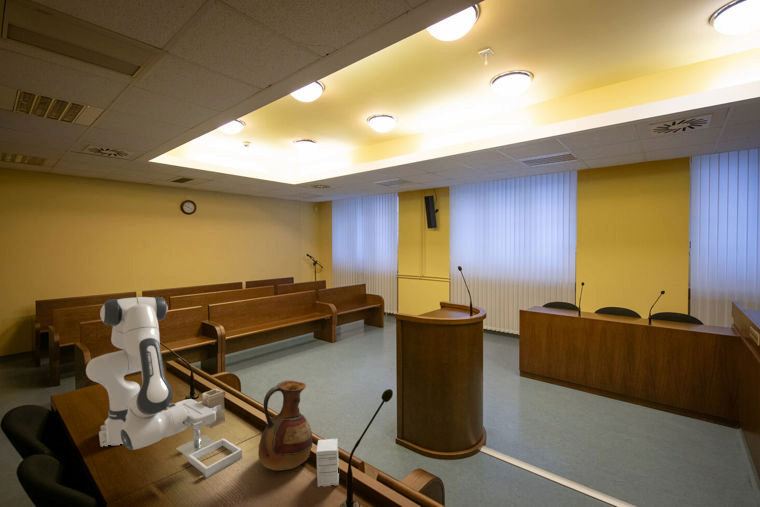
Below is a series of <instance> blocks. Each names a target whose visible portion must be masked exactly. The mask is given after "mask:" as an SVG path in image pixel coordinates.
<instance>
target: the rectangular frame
mask: <svg viewBox="0 0 760 507" xmlns="http://www.w3.org/2000/svg"><path fill="white" fill-rule="evenodd" d="M222 447H224V448H226V449H227V450H229V451H230V452H232V453H231V454H228V455H227V456H225V457H223V458H221V459H219V460H218V461H216V462H214V463H212V464H211V465H209V466H207V465H206V464H204V463H203V462H201V461H200V460H199V458H201V457H202V458H203V457H204V456H205V455H207V454H209V453H212V452H213V451H215V450H217V449H219V448H222ZM240 458H242V459H243V449H242V448H240V447H239V446H237V445H236V444H234V443H232V442H230V441H228V440H227V439H226V438H224V437H223V438H220V439H219V440H217V441H216V442H215V443H213V444H211V445H209V446H207V447H204V448H202V449H200V450H198V451H196V452H194V453H192V454H190V455H188V457H187V459H188V463H190V464H191V465H192V466H193V467H195V468H196V469H197V470H199V471H200V472H201V473H202V474H201V475H202V476H203V477H204V478H205V479H208V478H210V477H212V476H214V475H215V474H217V473H219V472H221V471H222V470H224V469H226V468H228V467H229V466H231V465H233V464H235V463H236V462H235V461H237V460H238V461H240V460H241V459H240ZM239 459H240V460H239ZM238 461H237V462H238ZM234 462H235V463H234ZM232 463H233V464H232ZM227 466H228V467H227ZM225 467H226V468H225Z"/></svg>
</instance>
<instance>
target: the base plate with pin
mask: <svg viewBox="0 0 760 507" xmlns="http://www.w3.org/2000/svg"><path fill="white" fill-rule="evenodd" d="M215 442H217V441H215V440H214V439H212V438H211V437H210V436H208V435H206V434H204V435H201V427H199V428H193V440H190V441H188V442H186V443H184V444H182V445H179V446H178V447H176V448H175V449H176V450H178V452H180V453H181V454H182V455H184V456H185V457H186V458H188V455H190V454H192V453H194V452H196V451H198V450H200V449H202V448H204V447H207V446H209V445H211V444H213V443H215Z"/></svg>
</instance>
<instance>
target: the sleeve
mask: <svg viewBox="0 0 760 507" xmlns="http://www.w3.org/2000/svg"><path fill="white" fill-rule="evenodd" d="M225 397H226V391H225V390H221V389H219V388H213V389H211V390H209V391H205V392H203V393H201V398H202V399H201V400H202V403H203V405H204V406H206V407H208V408H214V407H215V405H218V404H219V405H221V410H218V411H217V412H216V420H215V421H214V422H213V423H210V424H208V425H205V426H206V427H208V428H210V429H212V428H214V427H216V426H219V425H221V424H223V423H225V422H226V416H225V415H226V414H225V412H226V411H225Z"/></svg>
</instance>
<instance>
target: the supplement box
mask: <svg viewBox="0 0 760 507" xmlns="http://www.w3.org/2000/svg"><path fill="white" fill-rule="evenodd" d="M315 453H316V475H317V476H316V478H317V479H316V480H317V482H316V483H317V487H318V488H319V487H320V486H323V487H332V486H331V485H334V486H339V482H340V481H339V479H340V472H339V473H338V466H340V465H339V441H338V438H328V439H317V445H316V452H315ZM320 488H321V487H320Z"/></svg>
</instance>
